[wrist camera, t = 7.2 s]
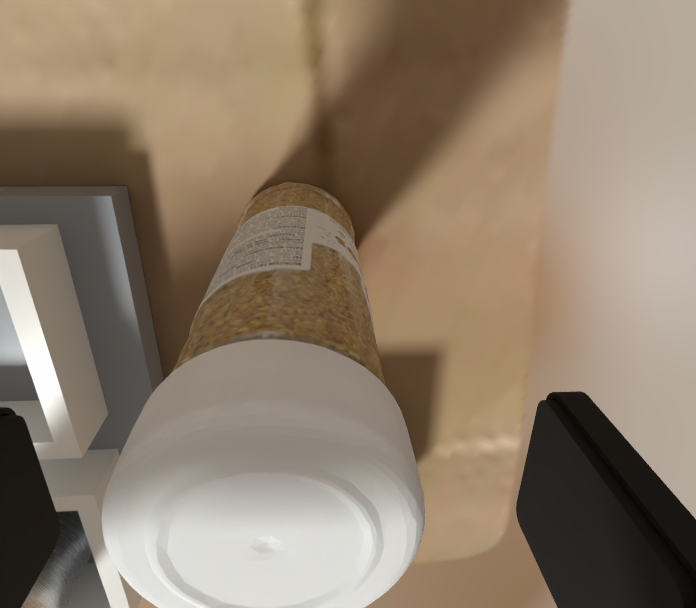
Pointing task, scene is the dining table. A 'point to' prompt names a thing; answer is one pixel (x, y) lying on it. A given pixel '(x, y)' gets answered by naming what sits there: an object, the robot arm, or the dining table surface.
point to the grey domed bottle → (61, 565)
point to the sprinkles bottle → (271, 434)
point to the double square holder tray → (76, 350)
